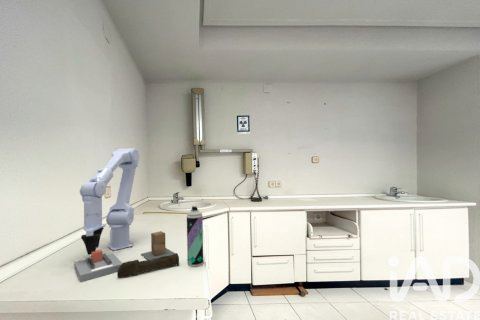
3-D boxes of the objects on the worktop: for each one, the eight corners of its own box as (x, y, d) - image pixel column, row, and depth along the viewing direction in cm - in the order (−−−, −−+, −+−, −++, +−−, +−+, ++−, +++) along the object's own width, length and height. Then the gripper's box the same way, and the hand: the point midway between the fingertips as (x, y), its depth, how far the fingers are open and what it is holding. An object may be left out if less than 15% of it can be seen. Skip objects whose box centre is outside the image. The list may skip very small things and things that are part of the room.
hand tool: (177, 262, 84) (176, 249, 84) (179, 266, 80) (179, 252, 80) (117, 275, 75) (117, 261, 75) (117, 280, 71) (117, 265, 71)
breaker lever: (91, 260, 81) (91, 251, 81) (101, 258, 83) (101, 249, 83) (92, 262, 79) (92, 253, 80) (102, 260, 81) (102, 251, 82)
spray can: (186, 262, 83) (185, 206, 84) (201, 259, 85) (200, 204, 86) (188, 268, 78) (187, 208, 79) (204, 265, 80) (203, 206, 81)
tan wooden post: (151, 253, 91) (151, 233, 92) (161, 251, 94) (160, 231, 94) (155, 256, 88) (155, 235, 89) (165, 253, 91) (165, 233, 91)
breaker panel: (74, 268, 81) (74, 258, 81) (112, 258, 89) (112, 250, 89) (80, 282, 70) (80, 271, 70) (123, 269, 78) (123, 260, 78)
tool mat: (140, 254, 92) (140, 253, 92) (165, 248, 98) (165, 247, 98) (150, 262, 84) (150, 261, 84) (176, 254, 91) (176, 253, 91)
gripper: (102, 216, 82) (103, 255, 81) (107, 209, 95) (107, 243, 95) (78, 218, 79) (78, 259, 78) (87, 211, 92) (87, 246, 92)
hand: (93, 250), depth 86 cm, fingers open, 7 cm apart
